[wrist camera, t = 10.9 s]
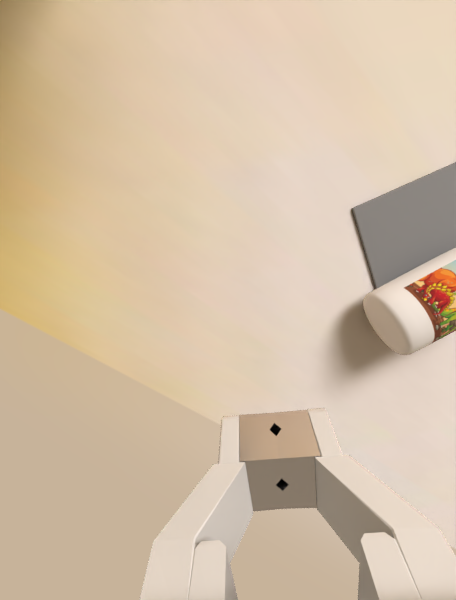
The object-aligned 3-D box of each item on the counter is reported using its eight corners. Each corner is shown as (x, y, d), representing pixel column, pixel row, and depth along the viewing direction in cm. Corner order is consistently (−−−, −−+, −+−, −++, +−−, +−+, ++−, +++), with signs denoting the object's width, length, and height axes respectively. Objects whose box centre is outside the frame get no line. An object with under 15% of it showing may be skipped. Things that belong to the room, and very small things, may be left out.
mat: (383, 316, 38) (385, 317, 38) (351, 208, 34) (353, 208, 34) (532, 251, 38) (536, 251, 37) (516, 135, 34) (520, 134, 34)
